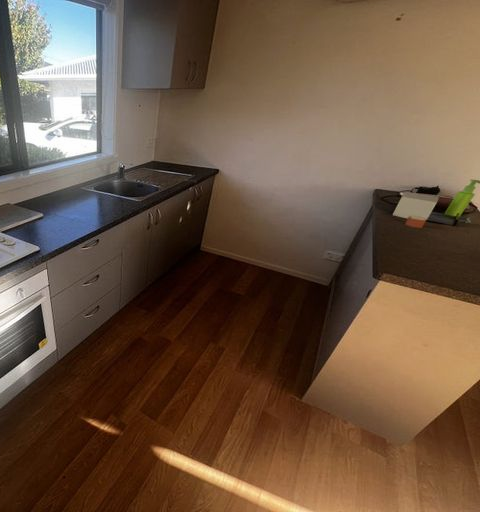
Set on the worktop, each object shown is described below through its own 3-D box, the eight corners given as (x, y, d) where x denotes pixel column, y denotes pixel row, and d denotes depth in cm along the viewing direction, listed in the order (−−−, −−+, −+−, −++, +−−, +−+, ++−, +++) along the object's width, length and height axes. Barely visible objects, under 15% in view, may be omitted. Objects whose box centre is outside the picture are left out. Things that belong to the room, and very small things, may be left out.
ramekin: (412, 223, 150) (417, 215, 148) (425, 228, 144) (430, 220, 142) (400, 224, 150) (405, 215, 147) (413, 228, 144) (418, 220, 142)
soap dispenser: (450, 218, 156) (475, 181, 146) (440, 213, 161) (463, 178, 152) (463, 219, 154) (489, 182, 145) (453, 215, 160) (477, 179, 150)
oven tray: (468, 221, 149) (471, 215, 147) (467, 228, 141) (471, 222, 139) (423, 213, 160) (426, 207, 158) (420, 219, 152) (423, 213, 150)
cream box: (427, 216, 159) (439, 196, 153) (425, 222, 151) (436, 202, 145) (396, 210, 167) (405, 191, 162) (391, 216, 159) (401, 196, 154)
